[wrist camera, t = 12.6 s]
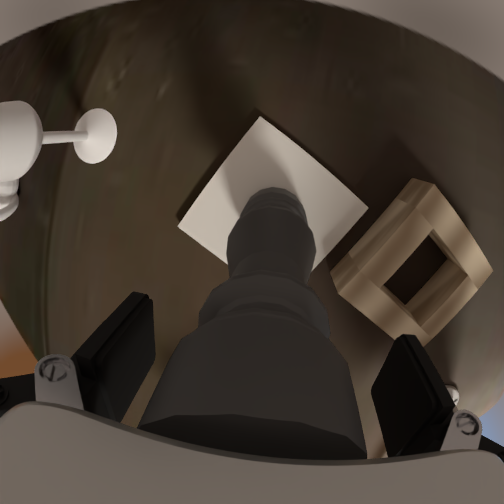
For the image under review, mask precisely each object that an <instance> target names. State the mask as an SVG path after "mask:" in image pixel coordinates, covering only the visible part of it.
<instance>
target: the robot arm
mask: <svg viewBox="0 0 504 504" xmlns="http://www.w3.org/2000/svg"><path fill="white" fill-rule="evenodd" d="M154 360H155V339H154V319H153V301H152V299H149V296H148V295H147V294H143V293H138V292H132V293H131V294H130V295H129V296H128V297H127V298H126V299H125V300H124V301H123V302H122V303H121V304H120V305H119V307H118V308H117V309H116V310H115V311H114V312H113V313H112V314H111V315H110V316H109V317H108V318H107V319H106V320H105V321H104V322H103V323H102V324H101V325H100V326H99V327H98V328H97V329H96V330H95V331H94V332H93V334H92V335H91V336H90V337H89V338H88V339H87V340H86V341H85V342H84V343H83V345H82V346H81V347H80V348H79V349H78V350H77V351H76V352H75V354H74V355H73V356H72V357H71V358H68V357H67V356H65V355H60V354H52V355H48V356H46V357H44V358H42V359H41V360H40V361H39V362H38V363H37V365H36V366H35V373H33V374H27V375H21V376H14V377H8V378H1V379H0V504H504V447H503V446H501V445H499V444H497V443H495V442H494V441H492V440H490V439H488V438H486V437H484V436H483V435H481V433H482V424H481V421H480V420H479V418H478V417H477V416H476V415H475V414H473V413H472V412H470V411H467V410H459V411H458V409H457V407H456V405H457V403H458V400H459V392H458V391H457V389H456V388H455V387H454V386H451V385H445V384H444V382H443V381H442V379H441V377H440V375H439V373H438V372H437V370H436V368H435V366H434V365H433V363H432V361H431V360H430V358H429V356H428V354H427V353H426V351H425V349H424V348H423V346H422V344H421V343H420V341H419V340H418V338H417V336H416V335H412V334H401V335H400V336H399V337H397V338H396V339H395V341H394V343H393V345H392V348H391V350H390V352H389V354H388V356H387V358H386V360H385V362H384V364H383V366H382V368H381V370H380V372H379V374H378V376H377V378H376V380H375V382H374V384H373V386H372V389H371V395H372V399H373V402H374V405H375V409H376V413H377V416H378V420H379V424H380V427H381V431H382V435H383V439H384V443H385V447H386V451H387V455H388V458H377V459H361V460H305V459H288V458H276V457H266V456H258V455H250V454H243V453H236V452H230V451H224V450H219V449H214V448H209V447H204V446H199V445H195V444H190V443H186V442H182V441H178V440H174V439H171V438H167V437H163V436H160V435H156V434H153V433H150V432H146V431H143V430H140V429H137V428H134V427H130V426H127V425H125V424H122V423H120V422H121V421H122V419H123V417H124V415H125V413H126V412H127V410H128V408H129V406H130V404H131V402H132V401H133V399H134V397H135V395H136V393H137V391H138V390H139V388H140V386H141V384H142V382H143V381H144V379H145V377H146V375H147V374H148V372H149V370H150V368H151V366H152V365H153V363H154Z"/></svg>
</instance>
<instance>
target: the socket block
mask: <svg viewBox="0 0 504 504" xmlns="http://www.w3.org/2000/svg"><path fill="white" fill-rule="evenodd" d="M427 235H429V236H430V237H431V239H432V240H433V241H434V242H435V243H436V245H437V246H438V247H439V248H440V250H441V251H442V252H443V254H444V255H445V256H446V257H447V260H446V261H445V262H444V263H443V265H442V266H441V267H440V268H439V269H438V270H437V271H436V273H435V274H434V275H433V276H432V277H431V278H430V279H429V280H428V282H427V283H426V284H425V285H424V286H423V287H422V288H421V289H420V290H419V291H418V292H417V293H416V294H415V295H414V297H413V298H412V299H411V300H410V301H409V302H408V303H407V304H406V305H404V304H403V303H402V302H401V301H400V300H399V299H398V298H397V297H396V296H395V295H394V294H393V293H392V292H391V291H390V290H389V289H388V288H387V287H386V286H384V285H383V284H384V283H385V282H386V281H387V280H388V279H389V278H390V277H391V276H392V275H393V274H394V273H395V272H396V271H397V270H398V268H399V267H400V266H401V265H402V264H403V263H404V262H405V261H406V260H407V258H408V257H409V256H410V255H411V254H412V253H413V252H414V251H415V249H416V248H417V247H418V246H419V245H420V244H421V242H422V241H423V240H424V239H425V238H426V237H427ZM492 271H493V270H492V268H491V266H490V264H489V263H488V261H487V259H486V258H485V256H484V254H483V253H482V251H481V249H480V248H479V246H478V245H477V243H476V241H475V240H474V238H473V237H472V235H471V234H470V232H469V231H468V229H467V228H466V226H465V225H464V223H463V222H462V220H461V219H460V218H459V216H458V215H457V213H456V212H455V211H454V209H453V208H452V206H451V205H450V204H449V202H448V201H447V200H446V198H445V197H444V196H443V195H442V193H441V192H440V191H439V189H438V188H437V187H436V186H435V184H432V183H429V182H425V181H422V180H418V179H415V178H411V180H410V181H409V182H408V183H407V185H406V186H405V187H404V188H403V189H402V191H401V192H400V193H399V194H398V196H397V197H396V198H395V199H394V200H393V202H392V203H391V204H390V205H389V206H388V207H387V209H386V210H385V211H384V212H383V213H382V215H381V216H380V217H379V218H378V219H377V220H376V221H375V223H374V224H373V225H372V226H371V227H370V228H369V229H368V231H367V232H366V233H365V234H364V235H363V236H362V237H361V238H360V240H359V241H358V242H357V243H356V244H355V245H354V246H353V247H352V248H351V250H350V251H349V252H348V253H347V254H346V255H345V256H344V257H343V258H342V259H341V260H340V261H339V263H338V264H337V265H336V266H335V267H334V268H333V269H332V270H331V271H330V274H331V277H332V279H333V282H334V284H335V287H336V290H337V292H338V294H339V295H341V296H342V297H343V298H344V299H345V300H347V301H348V302H349V303H350V304H352V305H353V306H354V307H355V308H357V309H358V310H359V311H360V312H361V313H363V314H364V315H365V316H366V317H368V318H369V319H370V320H371V321H372V322H374V323H375V324H376V325H377V326H379V327H380V328H381V329H382V330H383V331H385V332H386V333H387V334H388V335H389V336H391V337H392V338H393V339H394V340H395V339H396V338H397V337H399V336H400V335H401V334H412V335H416V336H417V338H418V340H419V341H420V343H421V344H422V346H423V347H424V346H425V345H426V344H427V343H428V342H429V341H430V340H431V339H432V338H433V337H434V336H435V335H437V334H438V333H439V332H440V331H441V330H442V329H443V328H444V327H445V325H446V324H447V323H448V322H449V321H450V320H451V319H452V318H453V317H454V316H455V315H456V314H457V313H458V312H459V311H460V310H461V309H462V307H463V306H464V305H465V304H466V303H467V302H468V301H469V300H470V298H471V297H472V296H473V295H474V294H475V293H476V291H477V290H478V289H479V288H480V287H481V285H482V284H483V283H484V282H485V280H486V279H487V278H488V277H489V275H490V274H491V273H492Z"/></svg>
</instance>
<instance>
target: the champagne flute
mask: <svg viewBox="0 0 504 504" xmlns="http://www.w3.org/2000/svg"><path fill="white" fill-rule="evenodd" d="M116 137H117V127H116V123H115V120H114V118H113V116H112V115H111V114H110V113H109V112H108V111H106V110H104V109H99V108H97V109H92V110H90V111H88V112H87V113H85V114H84V115H83V116H82V117H81V118H80V120H79V121H78V123H77V125H76V128H75V131H51V132H43V130H42V124H41V121H40V118H39V116H38V115H37V113H36V111H35V110H34V109H33V108H32V107H31V106H30V105H29V104H28V103H25V102H23V101H12V102H3V103H0V182H6V181H14V180H16V179H18V178H20V177H22V176H23V175H24V174H25V173H26V172H27V171H28V170H29V169H30V167H31V166H32V165H33V163H34V162H35V160H36V158H37V156H38V154H39V152H40V149H41V145H42V144H50V143H62V142H74V148H75V151H76V153H77V155H78V156H79V157H80V159H82V160H83V161H84V162H87V163H91V164H93V163H98V162H101V161H102V160H104V159H105V158H106V157H107V156H108V155H109V154H110V153H111V151H112V149H113V147H114V145H115V142H116Z"/></svg>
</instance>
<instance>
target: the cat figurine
mask: <svg viewBox="0 0 504 504" xmlns="http://www.w3.org/2000/svg"><path fill="white" fill-rule="evenodd" d="M18 185H19V178H18V179H16V180H14V181H6V182H0V221H2V220H4V219H6V218H7V217H9V216H10V215H11V214H12V213H13V212H14V211H15V210H16V208H17V206H18V203H19V198H18V195H17V190H18Z"/></svg>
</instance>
